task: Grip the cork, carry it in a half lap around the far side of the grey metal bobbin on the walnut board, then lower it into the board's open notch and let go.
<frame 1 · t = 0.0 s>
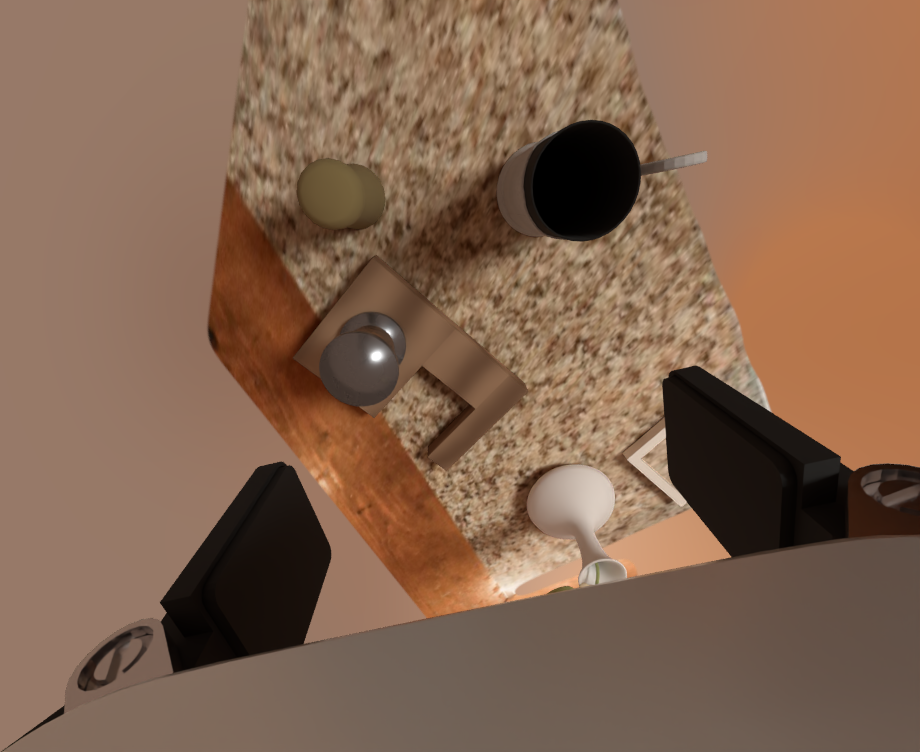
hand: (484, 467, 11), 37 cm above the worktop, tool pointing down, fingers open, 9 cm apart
notched board: (414, 367, 49), on the worktop
bobbin: (376, 337, 48), resting on notched board
cork: (355, 197, 43), on the worktop
flower in vase: (560, 492, 57), on the worktop
glass holder: (566, 185, 43), on the worktop
rectangular frame: (683, 449, 54), on the worktop
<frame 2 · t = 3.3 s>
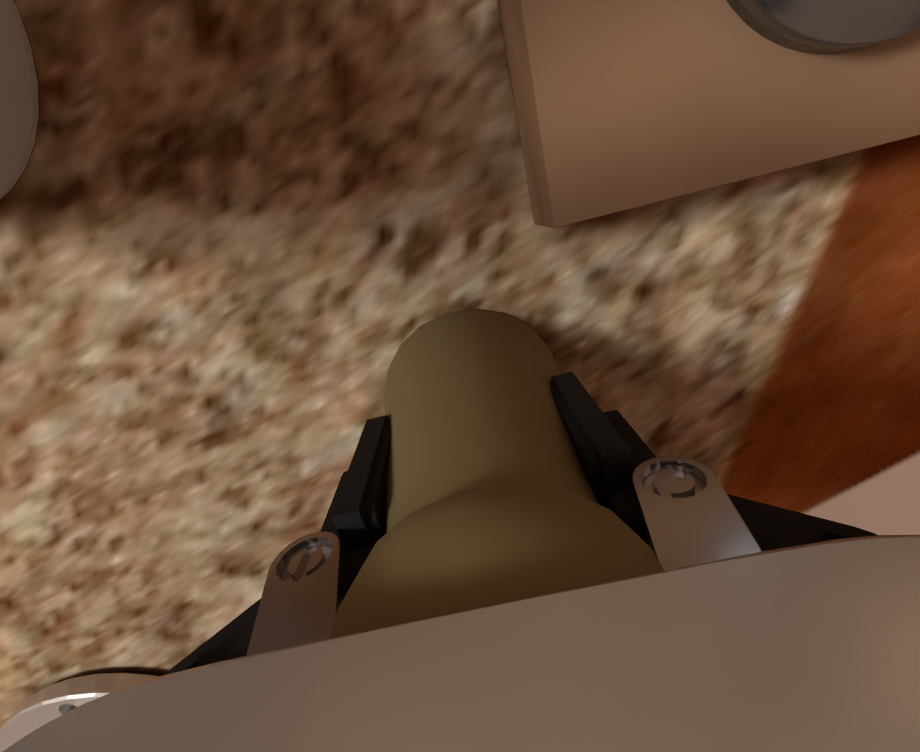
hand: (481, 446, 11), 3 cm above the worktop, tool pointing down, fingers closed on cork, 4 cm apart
cork: (473, 393, 15), on the worktop, touching gripper
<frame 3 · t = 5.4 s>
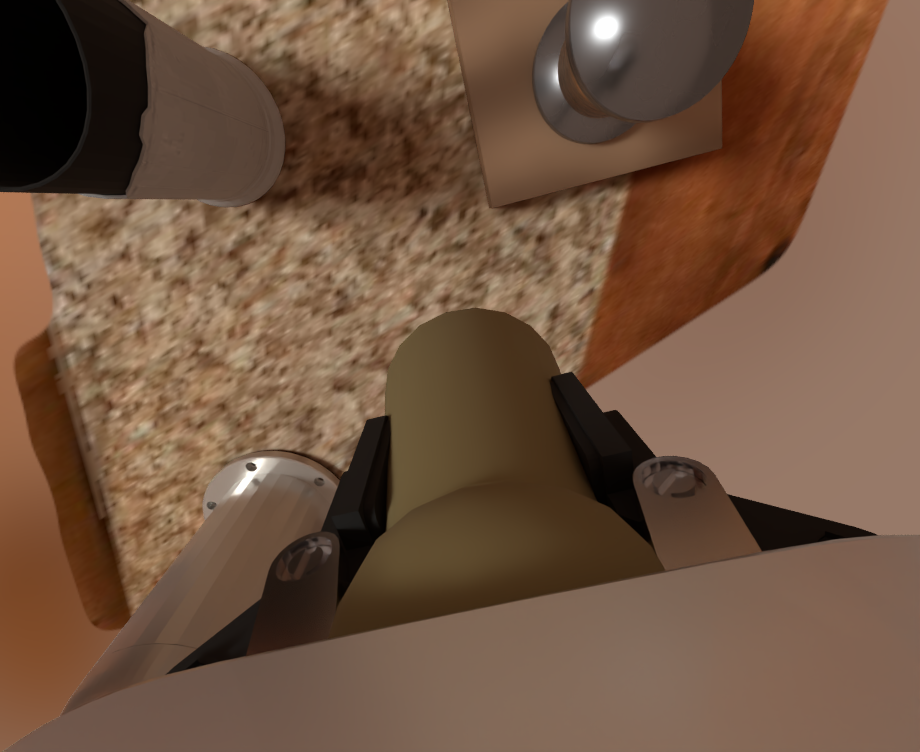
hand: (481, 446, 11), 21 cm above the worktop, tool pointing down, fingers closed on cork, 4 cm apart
bobbin: (581, 84, 26), resting on notched board
cork: (473, 392, 15), point 17 cm above the worktop, touching gripper
glass holder: (170, 112, 26), on the worktop
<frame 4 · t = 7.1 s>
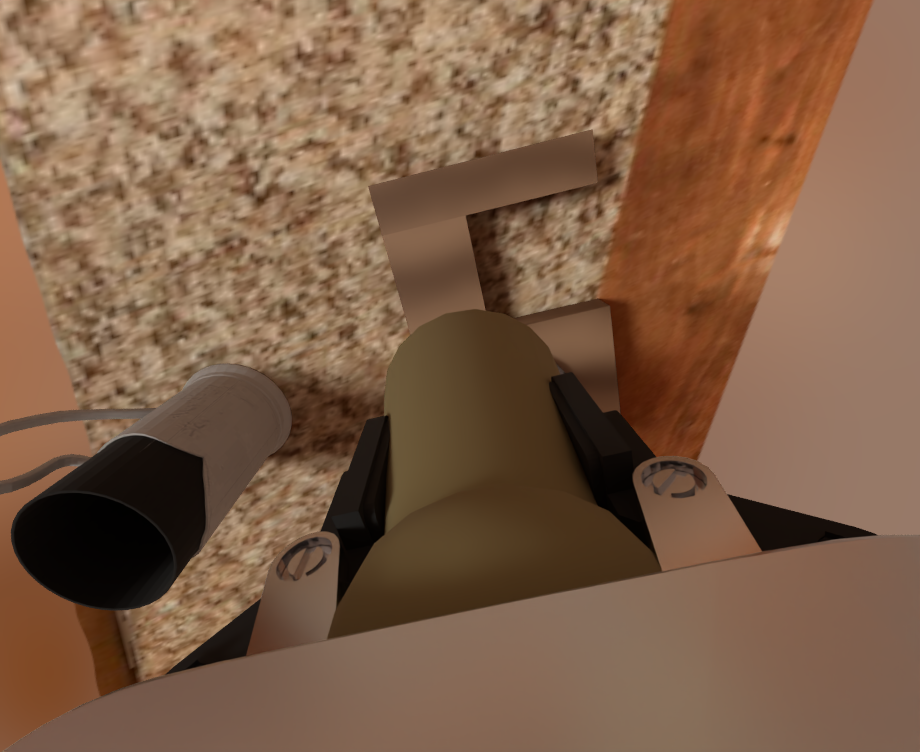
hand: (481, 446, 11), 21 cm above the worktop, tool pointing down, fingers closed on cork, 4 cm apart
notched board: (506, 319, 32), on the worktop
cork: (472, 393, 15), point 18 cm above the worktop, touching gripper
glass holder: (203, 401, 34), on the worktop
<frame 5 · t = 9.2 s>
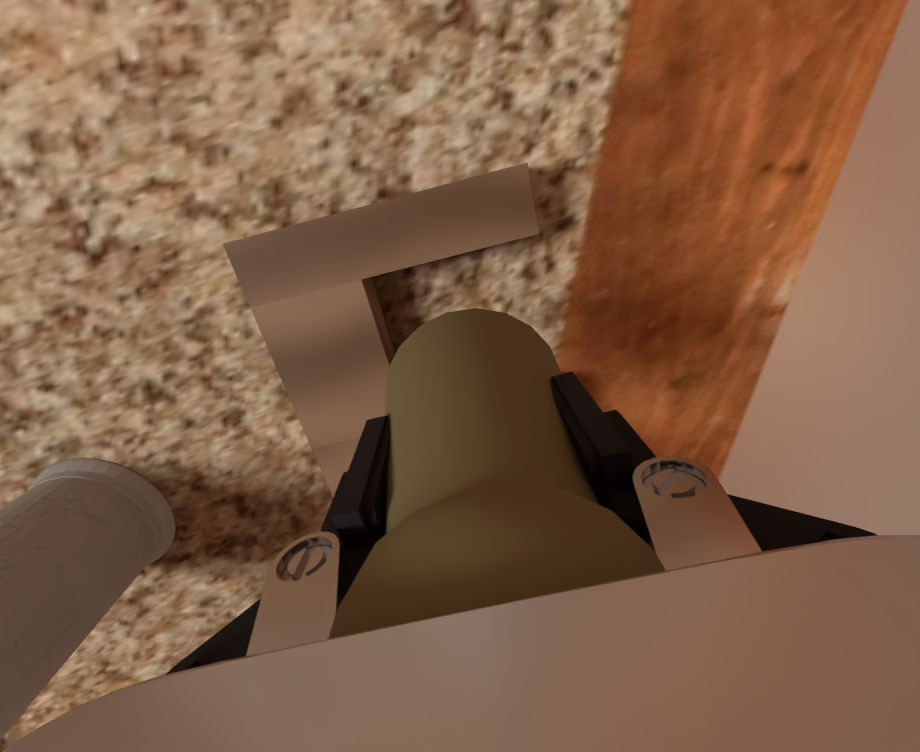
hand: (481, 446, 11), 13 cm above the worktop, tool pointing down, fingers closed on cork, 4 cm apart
notched board: (436, 399, 25), on the worktop
cork: (473, 393, 15), point 9 cm above the worktop, touching gripper
glass holder: (61, 502, 27), on the worktop
when the fingers open (5 cm above the worktop, at t = 11.1 s): cork stays where it is, on the worktop.
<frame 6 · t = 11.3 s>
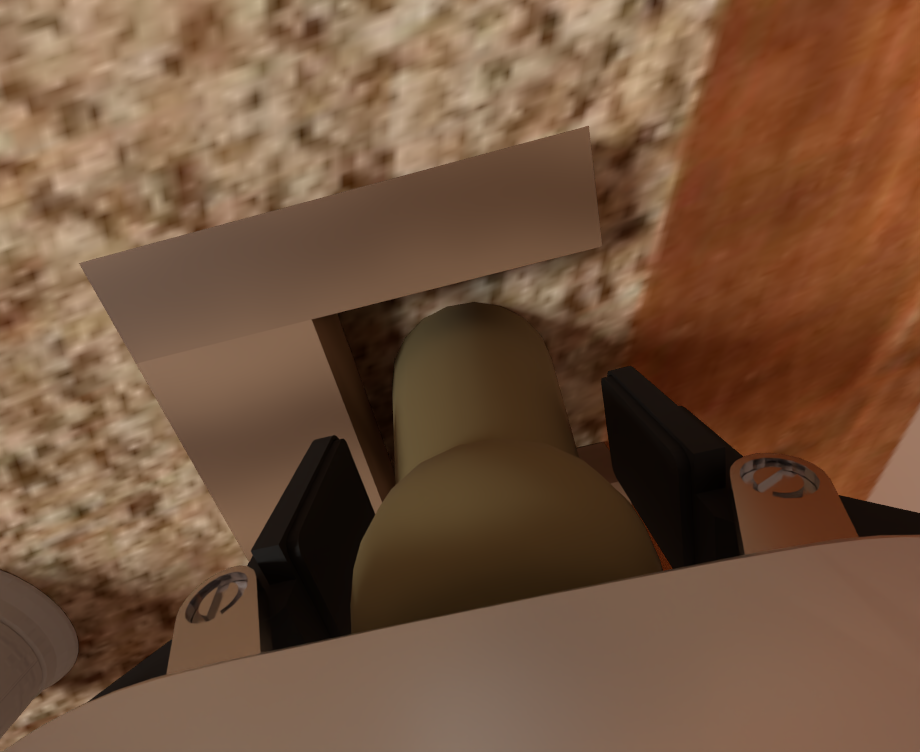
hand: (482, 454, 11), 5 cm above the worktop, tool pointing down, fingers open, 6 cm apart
notched board: (435, 479, 18), on the worktop
cork: (472, 380, 16), on the worktop
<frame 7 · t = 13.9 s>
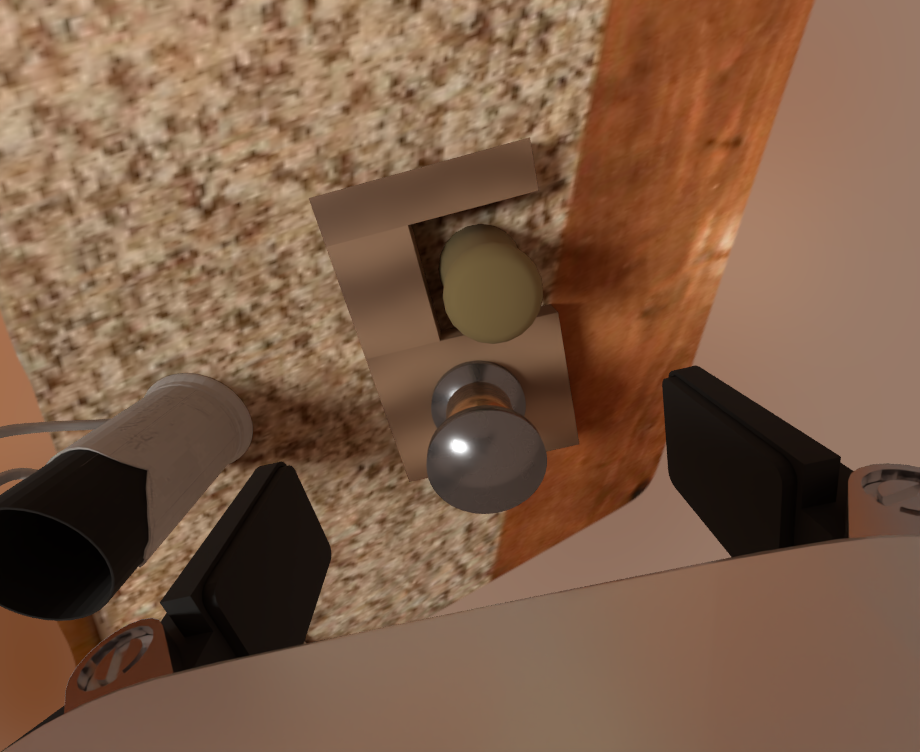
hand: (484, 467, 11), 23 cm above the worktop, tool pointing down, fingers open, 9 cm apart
notched board: (459, 326, 32), on the worktop
bobbin: (475, 390, 34), resting on notched board
cork: (480, 267, 31), on the worktop
glass holder: (165, 410, 35), on the worktop
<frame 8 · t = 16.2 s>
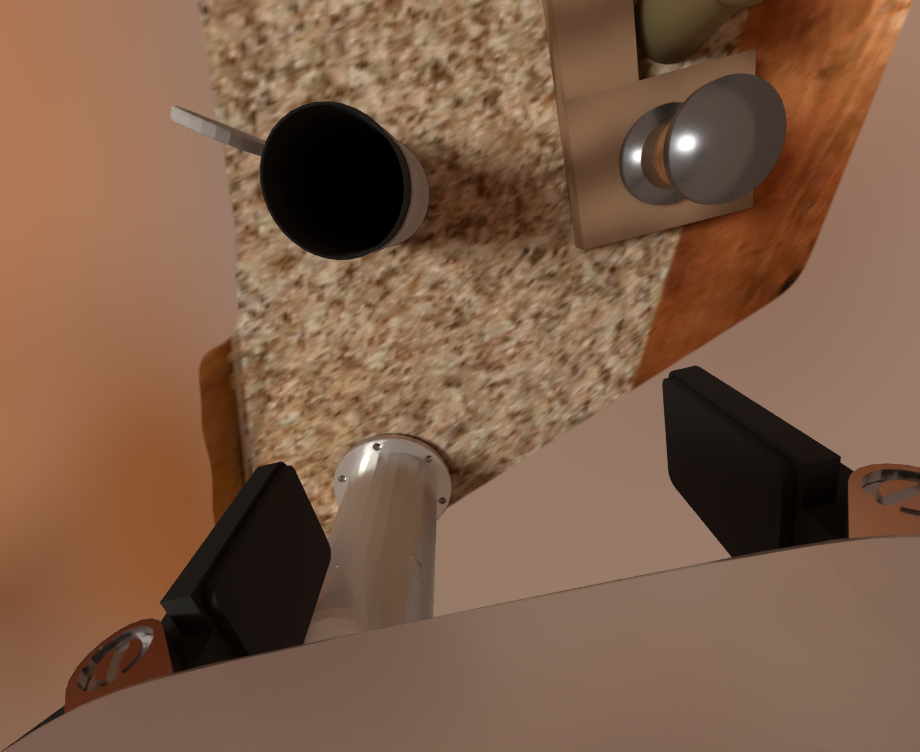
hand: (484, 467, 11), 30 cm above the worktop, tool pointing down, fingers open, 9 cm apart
notched board: (644, 84, 34), on the worktop
bobbin: (649, 159, 36), resting on notched board
cork: (672, 17, 32), on the worktop
glass holder: (346, 179, 36), on the worktop
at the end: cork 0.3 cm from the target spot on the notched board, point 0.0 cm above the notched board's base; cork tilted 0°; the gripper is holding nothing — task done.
